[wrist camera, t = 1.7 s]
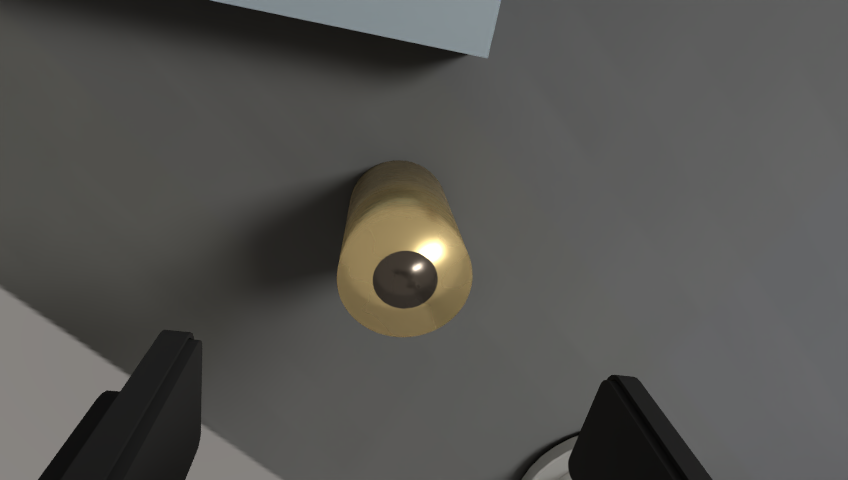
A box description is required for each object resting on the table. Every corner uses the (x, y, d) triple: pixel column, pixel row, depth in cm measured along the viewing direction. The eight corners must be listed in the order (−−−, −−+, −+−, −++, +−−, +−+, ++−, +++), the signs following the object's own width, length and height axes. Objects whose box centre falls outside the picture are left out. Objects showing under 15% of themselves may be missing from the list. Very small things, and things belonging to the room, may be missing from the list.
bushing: (455, 169, 25) (486, 228, 17) (435, 257, 26) (456, 344, 19) (356, 152, 24) (346, 206, 16) (343, 244, 26) (329, 329, 18)
